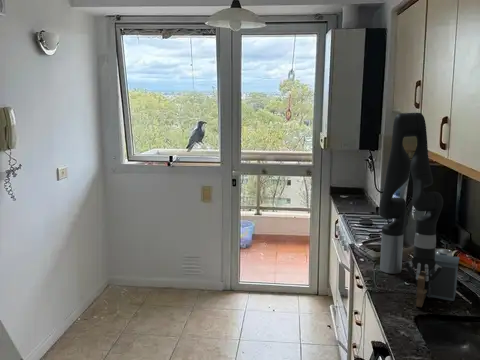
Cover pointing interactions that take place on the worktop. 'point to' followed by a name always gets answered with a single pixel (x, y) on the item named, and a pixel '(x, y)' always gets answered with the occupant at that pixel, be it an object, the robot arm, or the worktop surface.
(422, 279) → the walnut door
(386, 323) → the worktop surface
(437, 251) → the beer glass
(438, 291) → the slate cabinet
